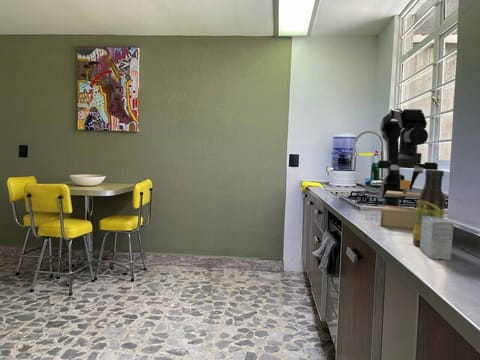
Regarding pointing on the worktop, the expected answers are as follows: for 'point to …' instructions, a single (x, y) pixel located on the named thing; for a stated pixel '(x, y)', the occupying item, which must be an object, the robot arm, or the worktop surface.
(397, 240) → the worktop surface
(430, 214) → the sauce bottle
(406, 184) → the pull drawer
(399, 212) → the carton
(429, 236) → the medicine box
